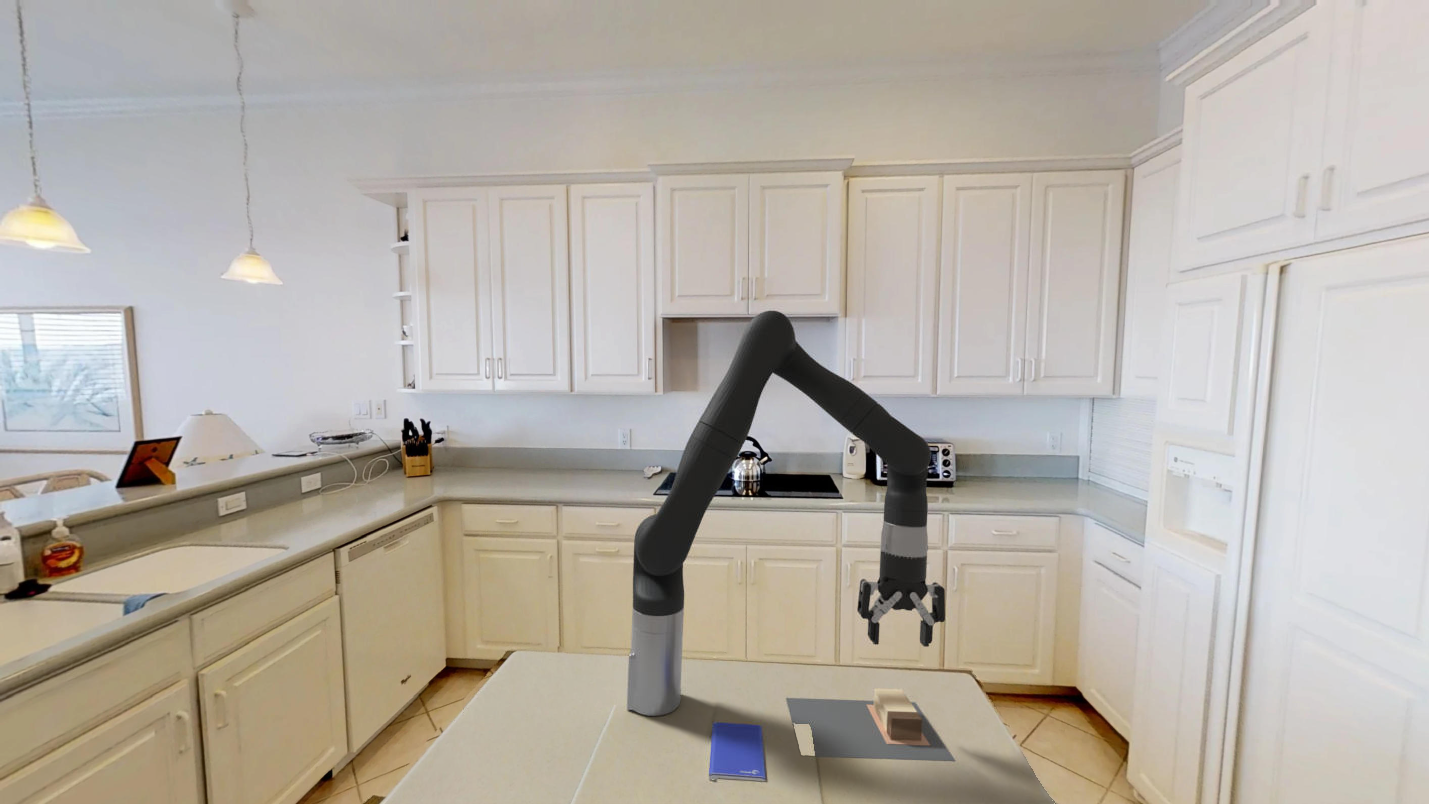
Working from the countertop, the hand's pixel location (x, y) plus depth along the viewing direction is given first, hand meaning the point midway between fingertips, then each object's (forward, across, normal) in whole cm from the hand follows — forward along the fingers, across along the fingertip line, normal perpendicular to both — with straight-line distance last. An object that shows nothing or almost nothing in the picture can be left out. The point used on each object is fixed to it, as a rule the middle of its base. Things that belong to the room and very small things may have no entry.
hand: (899, 643), depth 90 cm
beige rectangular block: (+14, 0, 0) cm, 14 cm away
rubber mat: (+14, +6, +1) cm, 16 cm away
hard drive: (+15, +28, +8) cm, 33 cm away
